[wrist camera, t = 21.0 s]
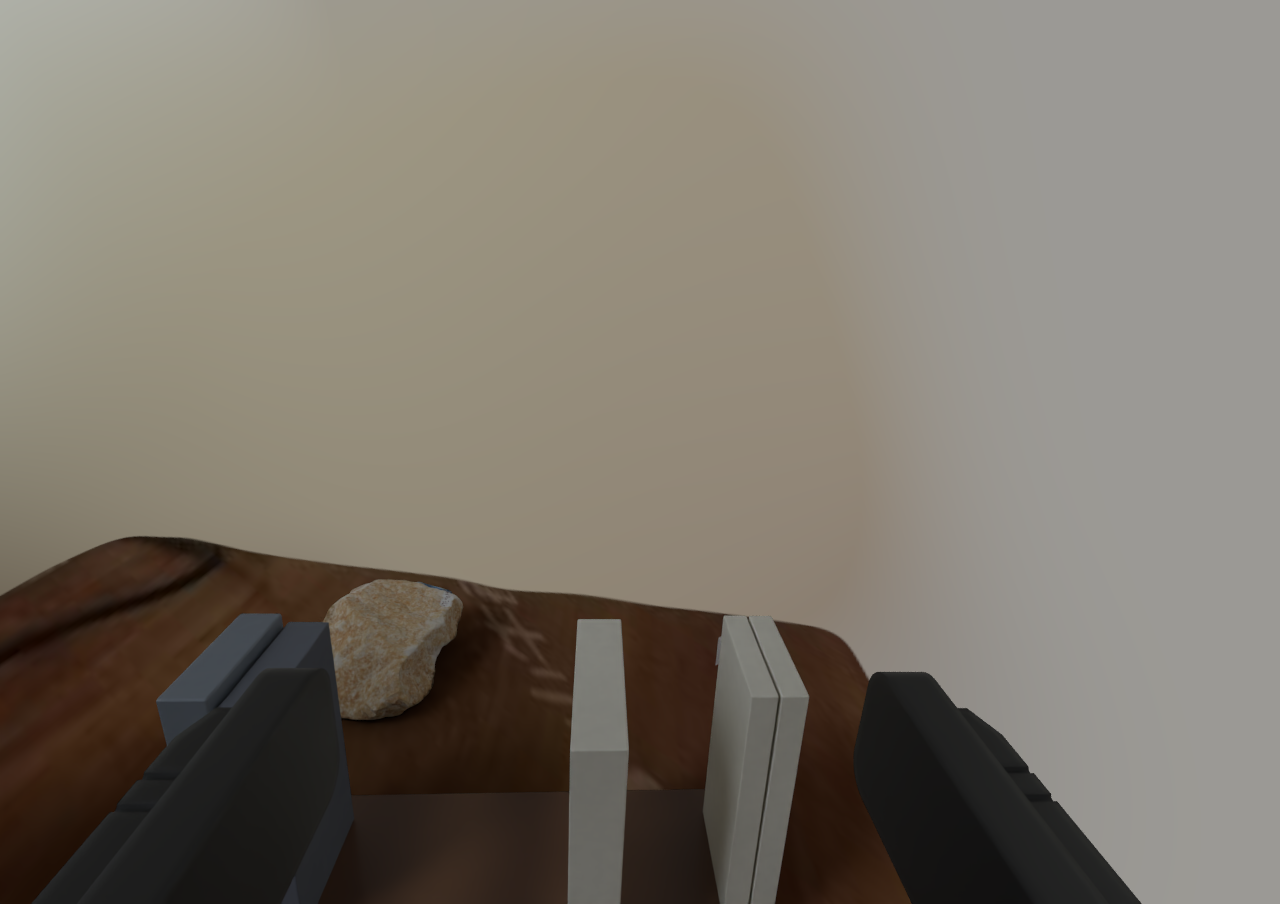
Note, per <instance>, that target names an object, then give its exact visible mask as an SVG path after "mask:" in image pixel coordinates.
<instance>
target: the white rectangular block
mask: <svg viewBox="0 0 1280 904" xmlns="http://www.w3.org/2000/svg"><path fill="white" fill-rule="evenodd" d="M628 755H629V745H628V729H627V712H626V695H625V678H624V662H623V645H622V628H621V620H620V619H578V623H577V640H576V658H575V675H574V693H573V710H572V728H571V745H570V793H569V854H568V904H620V903H621V884H622V866H623V847H624V829H625V811H626V792H627V774H628Z"/></svg>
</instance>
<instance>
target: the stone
mask: <svg viewBox="0 0 1280 904" xmlns="http://www.w3.org/2000/svg"><path fill="white" fill-rule="evenodd" d="M462 609H463V604H462V602H461V600H460V599H459V598H458V597H457V596H456V595H454V594H452V592H451V591H449V590H446V589H443V588H439V587H435V586H432V585H428V584H425V583H422V582H409V581H406V580H390V579H387V580H380V579H379V580H375V581H373V582H372V583H368V584H364V585H362V586H360V587H358V588H355V589H353V590H352V591H351V593H350V594H348V595H346V596H344V597H342V598H341V599H339V600H338V601H337V602H336V603H335V604H334V605H332V606H331V608H330V609H329V610H328V612H327V615H326V617H325V619H324V621H323V622H328V623H329V629H330V637H331V644H332V652H333V660H334V667H335V675H336V683H337V690H338V698H339V706H340V714H341V718H347V719H352V720H376V719H380V718H384V717H391V716H397V715H400V714H402V713H403V712H404V711H405V710H406V709H408V708H409V707H412V706H414V705H416V704H418V703H419V702H420V701H421V700H423V699H424V697H425V696H426V695H427V694H429V692H430V690H431V688H432V686H433V683H434V680H433V677H434V674H435V661H436V658H437V656H438V654H439V653H440V651H441V648H442V647H443V646H445V645H447V644H448V643H449V642H450V641H451V640H453V639H454V638H455V637H456V635H457V626H458V623H459V621H460V617H461V612H462Z"/></svg>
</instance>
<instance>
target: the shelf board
mask: <svg viewBox="0 0 1280 904" xmlns="http://www.w3.org/2000/svg"><path fill="white" fill-rule="evenodd" d="M569 793H570V792H517V793H460V794H404V795H351V798H352V806H353V813H354V820H353V823H352V825H351V827H350V830H349V832H348V834H347V837H346V839H345V841H344V844H343V846H342V848H341V851H340V853H339V855H338V858H337V860H336V862H335V865H334V867H333V869H332V872H331V874H330V876H329V879H328V881H327V883H326V886H325V888H324V890H323V893H322V895H321V897H320V900H319V902H318V904H568V854H569ZM704 796H705V789H687V790H630V791H627V792H626V811H625V829H624V847H623V866H622V884H621V903H620V904H720V901H719V896H718V890H717V885H716V880H715V874H714V869H713V863H712V858H711V853H710V847H709V842H708V837H707V831H706V826H705V821H704V815H703V805H704Z"/></svg>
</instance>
